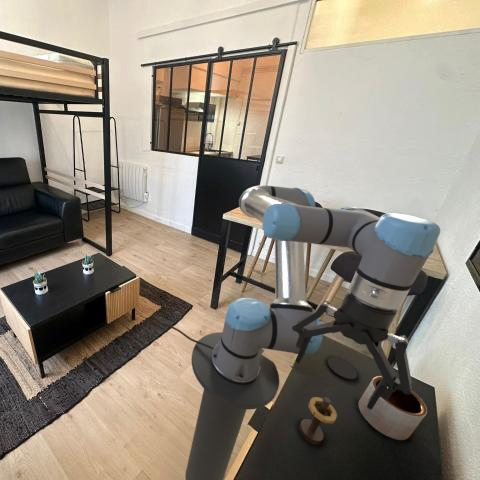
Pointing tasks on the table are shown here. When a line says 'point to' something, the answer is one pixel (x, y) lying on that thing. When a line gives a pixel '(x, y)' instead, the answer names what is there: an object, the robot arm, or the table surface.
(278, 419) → the table surface
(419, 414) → the planter
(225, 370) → the robot arm
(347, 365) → the rubber pad
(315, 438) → the brown wooden peg stand
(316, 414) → the brass ring
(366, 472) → the table surface
